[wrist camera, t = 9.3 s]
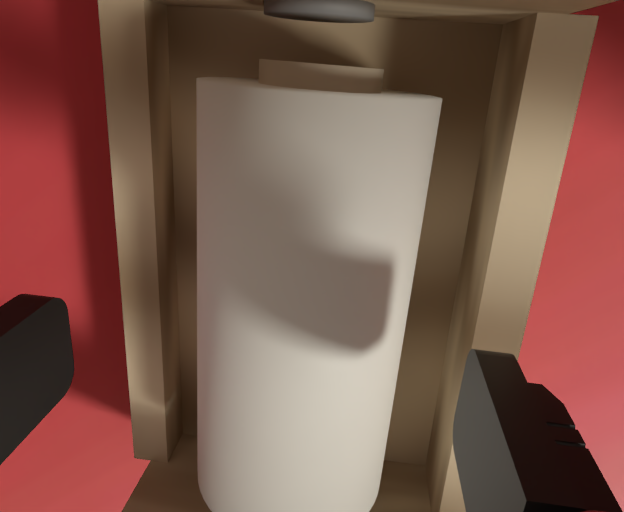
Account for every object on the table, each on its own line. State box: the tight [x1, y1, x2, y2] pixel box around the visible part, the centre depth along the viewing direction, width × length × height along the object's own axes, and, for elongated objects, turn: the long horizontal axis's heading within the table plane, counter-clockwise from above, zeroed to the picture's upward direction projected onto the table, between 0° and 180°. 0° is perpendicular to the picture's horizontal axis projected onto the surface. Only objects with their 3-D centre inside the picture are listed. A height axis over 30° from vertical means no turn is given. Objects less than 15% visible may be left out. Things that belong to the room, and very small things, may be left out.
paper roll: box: [196, 59, 442, 512], centre depth 14 cm, size 12×6×6 cm, turn 175°
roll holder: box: [98, 0, 618, 512], centre depth 13 cm, size 17×11×9 cm
